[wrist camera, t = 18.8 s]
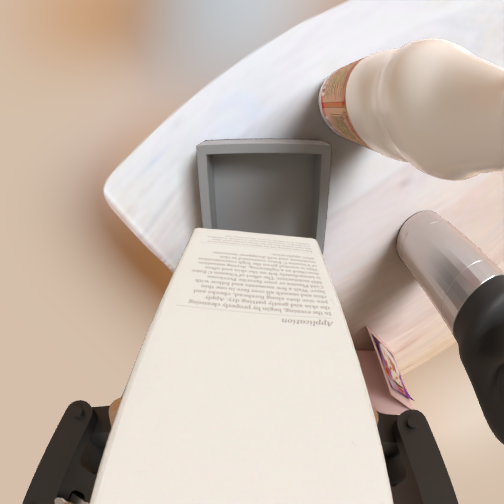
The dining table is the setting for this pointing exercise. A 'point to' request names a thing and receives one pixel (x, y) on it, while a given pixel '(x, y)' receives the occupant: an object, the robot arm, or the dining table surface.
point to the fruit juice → (422, 108)
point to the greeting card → (383, 379)
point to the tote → (265, 186)
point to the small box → (246, 387)
